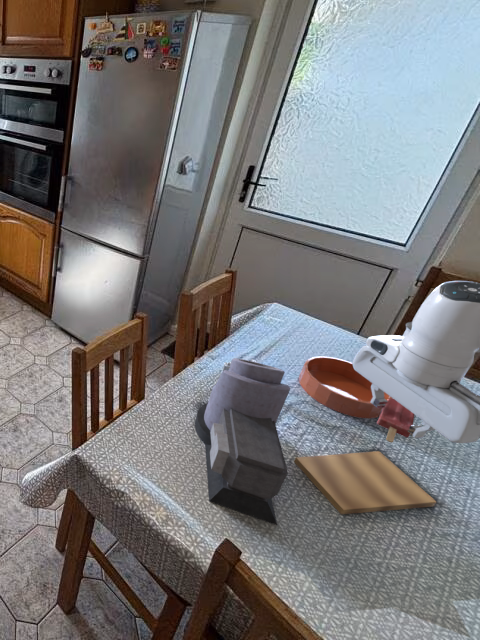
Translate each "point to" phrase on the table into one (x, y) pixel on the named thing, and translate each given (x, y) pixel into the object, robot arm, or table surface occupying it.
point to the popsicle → (395, 419)
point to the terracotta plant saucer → (339, 387)
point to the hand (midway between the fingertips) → (394, 419)
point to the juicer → (244, 438)
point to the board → (363, 482)
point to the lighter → (227, 365)
